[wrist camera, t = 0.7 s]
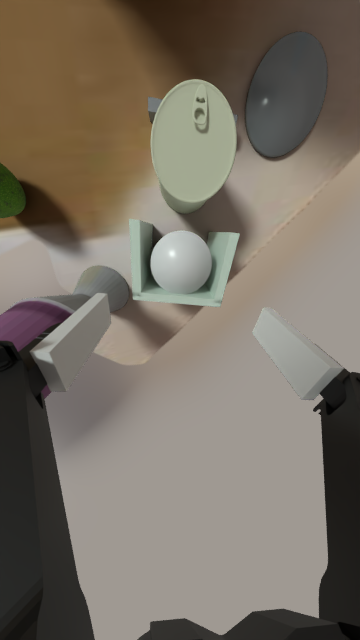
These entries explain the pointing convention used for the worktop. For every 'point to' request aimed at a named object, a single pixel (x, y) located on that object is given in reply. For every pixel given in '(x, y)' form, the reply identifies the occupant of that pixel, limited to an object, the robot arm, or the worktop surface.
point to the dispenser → (179, 260)
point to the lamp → (60, 307)
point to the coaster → (286, 94)
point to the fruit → (10, 194)
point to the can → (193, 144)
